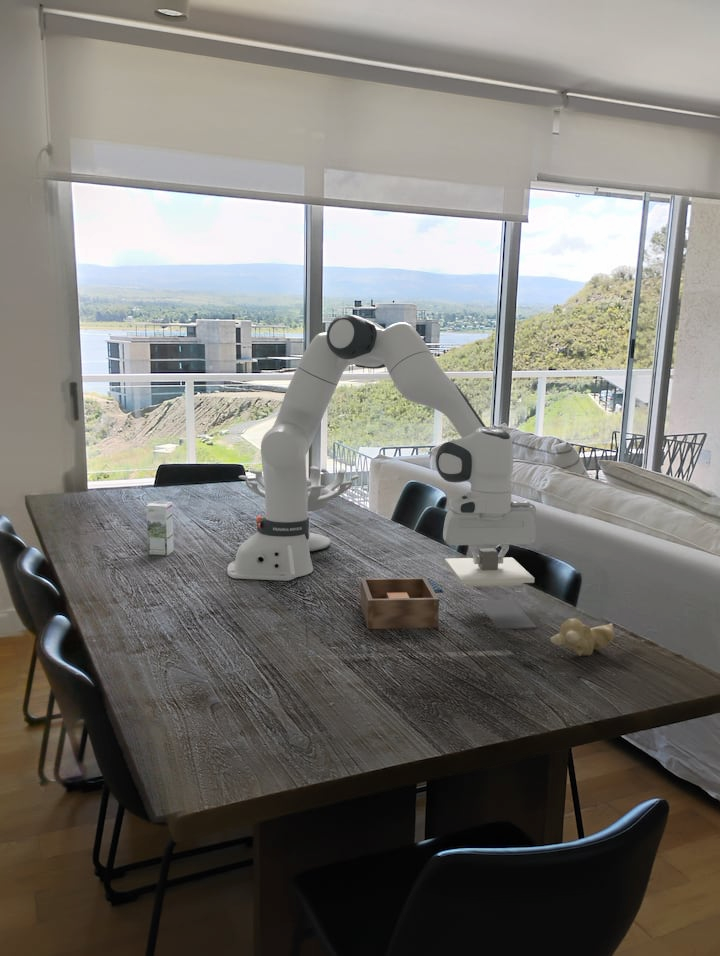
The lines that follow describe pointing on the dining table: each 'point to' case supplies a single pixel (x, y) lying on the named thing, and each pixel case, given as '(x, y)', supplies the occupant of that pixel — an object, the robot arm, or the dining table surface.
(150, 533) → the syrup box
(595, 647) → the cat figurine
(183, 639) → the dining table surface
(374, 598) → the walnut box
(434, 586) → the woven mat
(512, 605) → the rubber mat
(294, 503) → the robot arm
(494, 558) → the lid
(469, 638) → the dining table surface
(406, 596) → the terracotta block
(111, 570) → the dining table surface
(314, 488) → the candelabra
